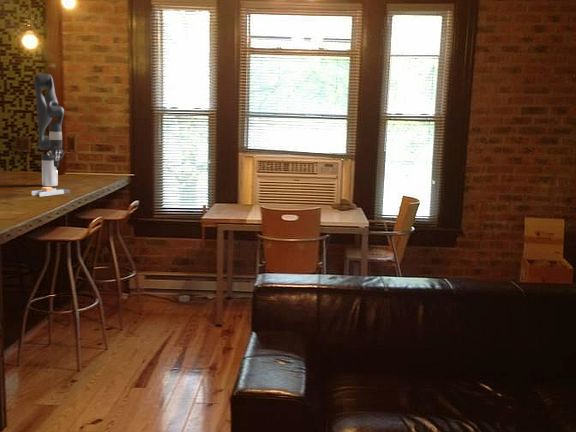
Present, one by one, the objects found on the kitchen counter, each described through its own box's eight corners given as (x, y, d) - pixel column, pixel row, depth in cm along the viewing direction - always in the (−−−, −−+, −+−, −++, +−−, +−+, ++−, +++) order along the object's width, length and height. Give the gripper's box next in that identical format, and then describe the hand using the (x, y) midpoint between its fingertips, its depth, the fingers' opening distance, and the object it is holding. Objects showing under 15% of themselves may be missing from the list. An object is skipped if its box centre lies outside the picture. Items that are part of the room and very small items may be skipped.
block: (47, 193, 419) (47, 186, 418) (52, 194, 417) (52, 187, 416) (41, 194, 415) (41, 187, 414) (46, 195, 413) (46, 188, 412)
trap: (61, 191, 430) (61, 188, 430) (70, 192, 426) (70, 190, 426) (55, 192, 426) (55, 189, 426) (63, 193, 422) (63, 190, 422)
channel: (55, 192, 426) (55, 188, 425) (63, 193, 422) (63, 189, 421) (31, 195, 411) (31, 191, 410) (40, 196, 407) (40, 192, 406)
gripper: (60, 138, 424) (60, 165, 427) (42, 138, 412) (43, 167, 415) (68, 138, 420) (68, 166, 423) (51, 139, 409) (51, 168, 412)
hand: (56, 166), depth 419 cm, fingers closed
